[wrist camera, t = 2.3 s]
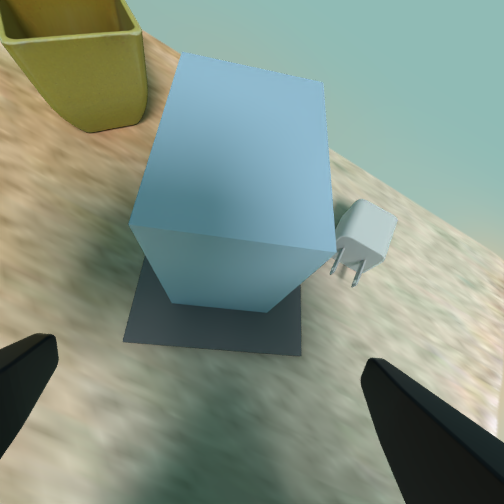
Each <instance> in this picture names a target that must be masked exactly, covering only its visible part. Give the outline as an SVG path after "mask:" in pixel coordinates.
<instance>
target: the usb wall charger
mask: <svg viewBox="0 0 504 504" xmlns="http://www.w3.org/2000/svg"><path fill="white" fill-rule="evenodd" d="M397 221H398V220H397V218H396V216H394V215H392V214H391V213H389V212H387V211H385V210H383V209H382V208H380V207H378V206H376V205H374V204H373V203H371V202H369V201H367V200H364V199H360V200H357V201H356V202H355V203H354V204H353V205H352V206H351V207H350V208H349V209H348V210H347V211H346V212H345V214H344V215H343V216H342V217H341V219H340V221H339V223H338V225H337V228H336V230H335V237H336V250H337V253H336V254H334V255H333V256H332V257H331V258H333V259H335V262H334V265H333V267H332V269H331V272H330V275H331V274H333V273H334V272H335V270H336V268H337V266H338V264H339V262H340V263H342V264H343V265H345V266H347V267H349V268H350V269H352V270H354V271H356V275H355V278H354V280H353V283H352V287H354V286H356V285H357V284H358V281H359V279H360V276H361V274H362V273H364V272H366V271H368V270H370V269H372V268H373V267H375V266H377V265H378V264H380V263H382V262H383V261H384V260H385V257H386V254H387V251H388V248H389V245H390V242H391V239H392V236H393V233H394V230H395V227H396V224H397Z"/></svg>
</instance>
